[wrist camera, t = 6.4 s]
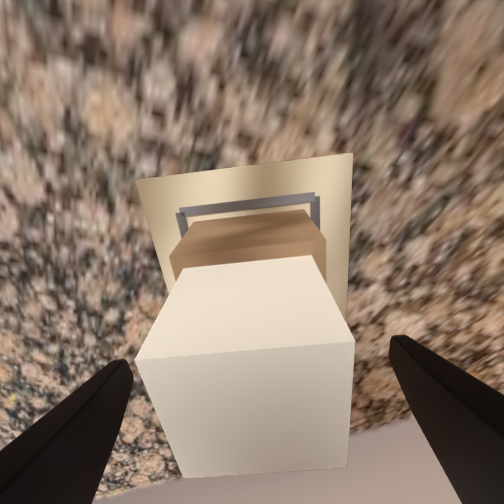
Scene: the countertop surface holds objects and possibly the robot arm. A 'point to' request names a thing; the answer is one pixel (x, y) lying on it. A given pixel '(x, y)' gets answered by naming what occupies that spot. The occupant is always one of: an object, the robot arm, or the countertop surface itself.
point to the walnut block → (250, 240)
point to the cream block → (251, 369)
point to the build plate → (256, 205)
